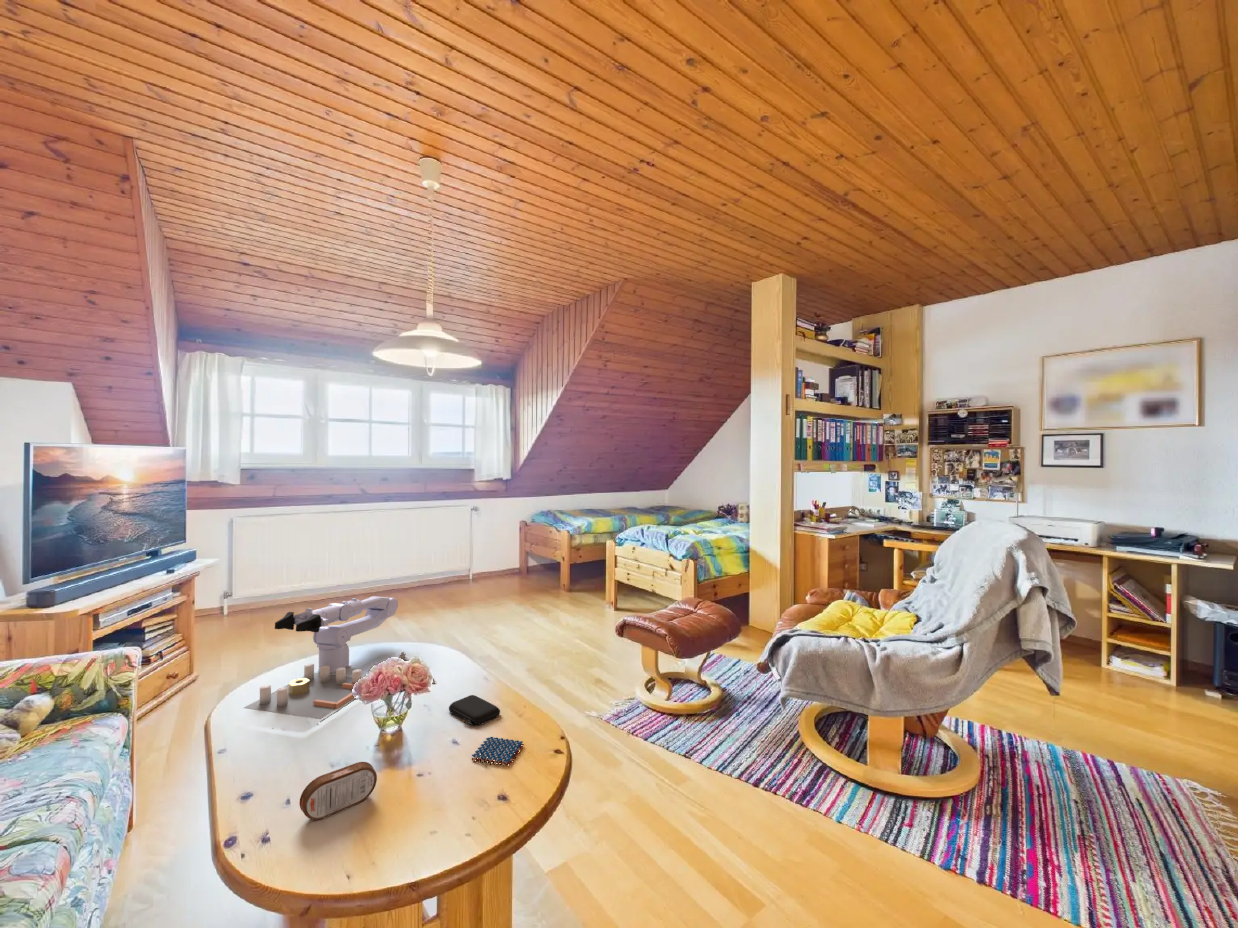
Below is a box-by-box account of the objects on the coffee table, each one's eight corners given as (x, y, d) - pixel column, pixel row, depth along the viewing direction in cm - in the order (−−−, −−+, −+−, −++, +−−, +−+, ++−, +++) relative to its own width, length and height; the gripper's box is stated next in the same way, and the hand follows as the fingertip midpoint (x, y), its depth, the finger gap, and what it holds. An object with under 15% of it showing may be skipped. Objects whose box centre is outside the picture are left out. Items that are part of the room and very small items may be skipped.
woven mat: (509, 769, 132) (510, 761, 132) (470, 763, 134) (470, 755, 134) (525, 747, 142) (525, 739, 142) (488, 741, 145) (488, 734, 144)
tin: (373, 790, 122) (373, 754, 122) (378, 797, 120) (379, 760, 120) (298, 821, 112) (299, 781, 111) (303, 829, 109) (303, 788, 109)
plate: (311, 675, 182) (311, 659, 182) (379, 683, 177) (379, 667, 177) (243, 710, 157) (243, 692, 157) (320, 722, 152) (320, 703, 151)
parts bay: (344, 686, 172) (344, 682, 172) (366, 689, 171) (366, 685, 171) (313, 704, 160) (313, 700, 160) (336, 708, 158) (337, 704, 158)
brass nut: (299, 686, 172) (299, 676, 171) (313, 688, 170) (313, 678, 170) (284, 694, 166) (284, 684, 166) (298, 696, 165) (298, 686, 165)
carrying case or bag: (442, 713, 159) (472, 731, 150) (442, 703, 159) (472, 720, 149) (472, 701, 167) (503, 717, 158) (473, 691, 167) (503, 706, 158)
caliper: (398, 669, 190) (398, 651, 190) (401, 668, 191) (401, 650, 190) (433, 684, 178) (434, 666, 178) (436, 683, 179) (437, 665, 179)
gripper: (301, 603, 181) (267, 611, 168) (338, 607, 178) (307, 615, 165) (299, 624, 181) (265, 634, 168) (337, 628, 178) (305, 639, 165)
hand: (286, 626), depth 166 cm, fingers open, 7 cm apart
